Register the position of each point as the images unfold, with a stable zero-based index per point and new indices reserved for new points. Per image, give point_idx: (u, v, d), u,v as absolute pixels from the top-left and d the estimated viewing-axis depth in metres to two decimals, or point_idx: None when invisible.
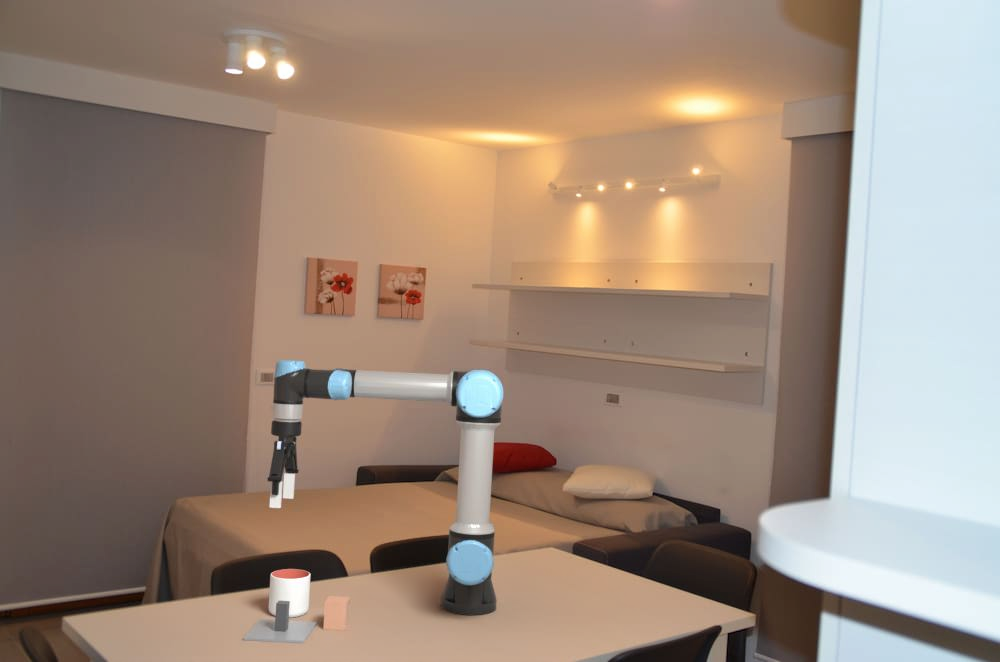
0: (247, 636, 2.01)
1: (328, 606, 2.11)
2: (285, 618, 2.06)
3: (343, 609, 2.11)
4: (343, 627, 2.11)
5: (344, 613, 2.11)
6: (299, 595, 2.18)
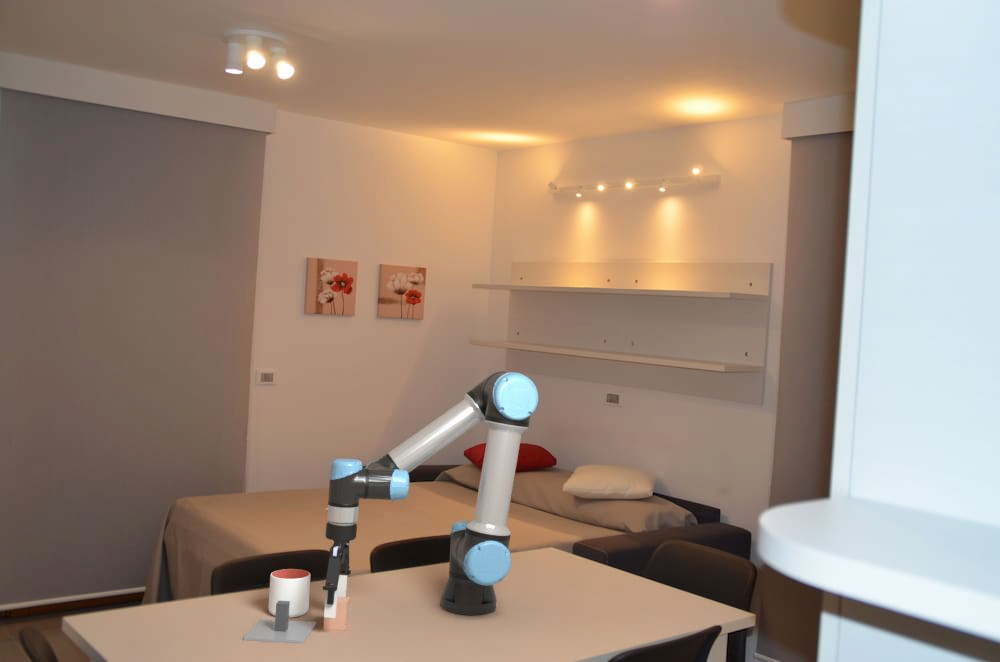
0: (247, 636, 2.01)
1: None
2: (285, 618, 2.06)
3: (343, 609, 2.11)
4: (343, 627, 2.11)
5: (344, 613, 2.11)
6: (298, 595, 2.18)
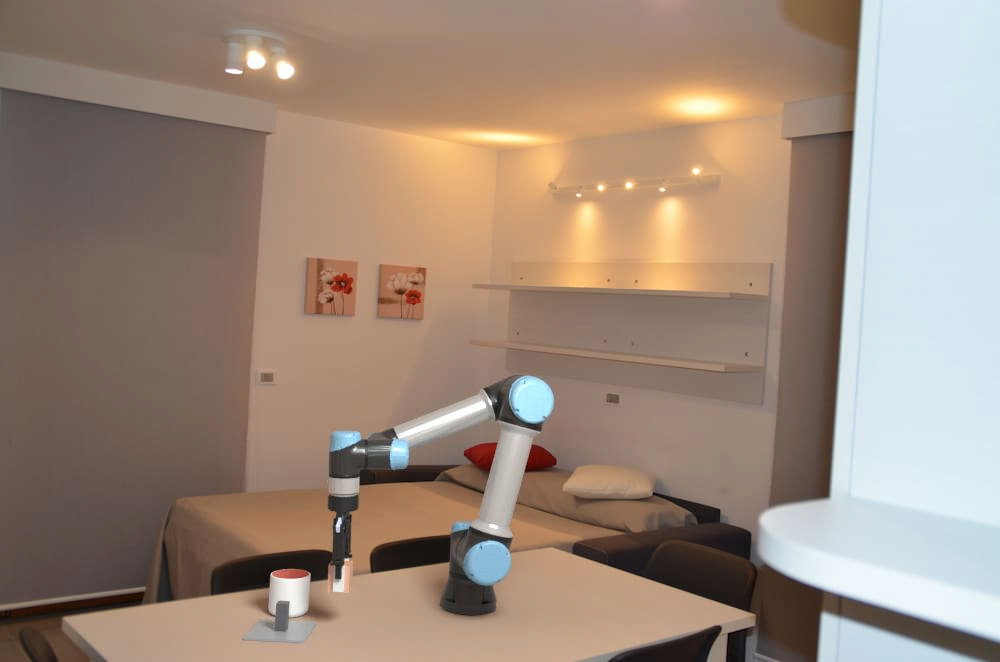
0: (247, 636, 2.01)
1: (332, 569, 2.11)
2: (285, 618, 2.06)
3: (347, 572, 2.11)
4: (347, 590, 2.11)
5: (348, 576, 2.11)
6: (298, 595, 2.18)
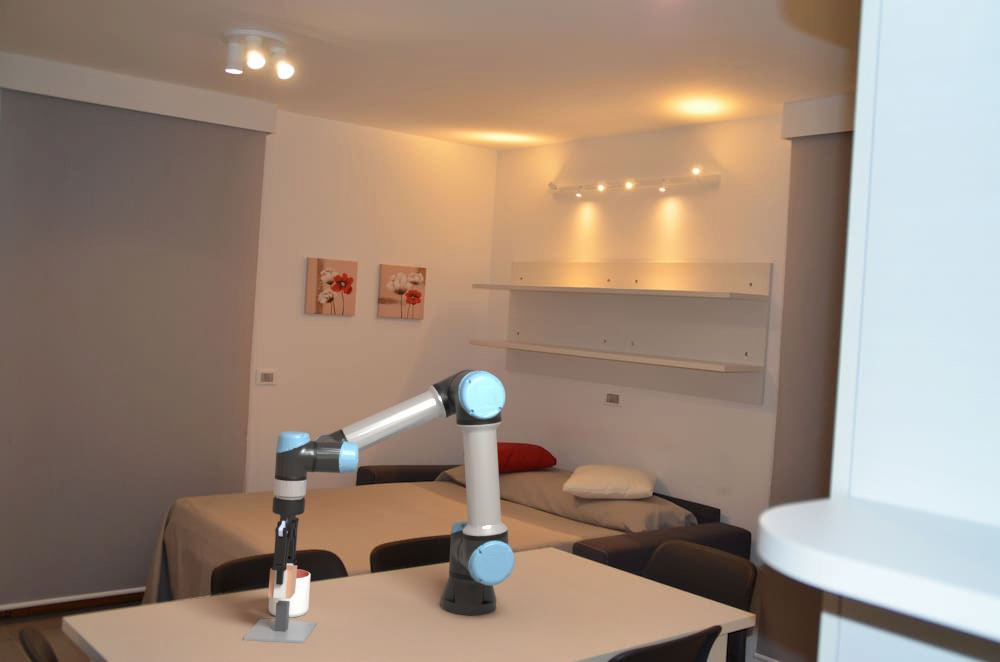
0: (247, 636, 2.01)
1: (273, 573, 2.05)
2: (285, 618, 2.06)
3: (289, 577, 2.05)
4: (288, 595, 2.05)
5: (290, 581, 2.05)
6: (298, 595, 2.18)
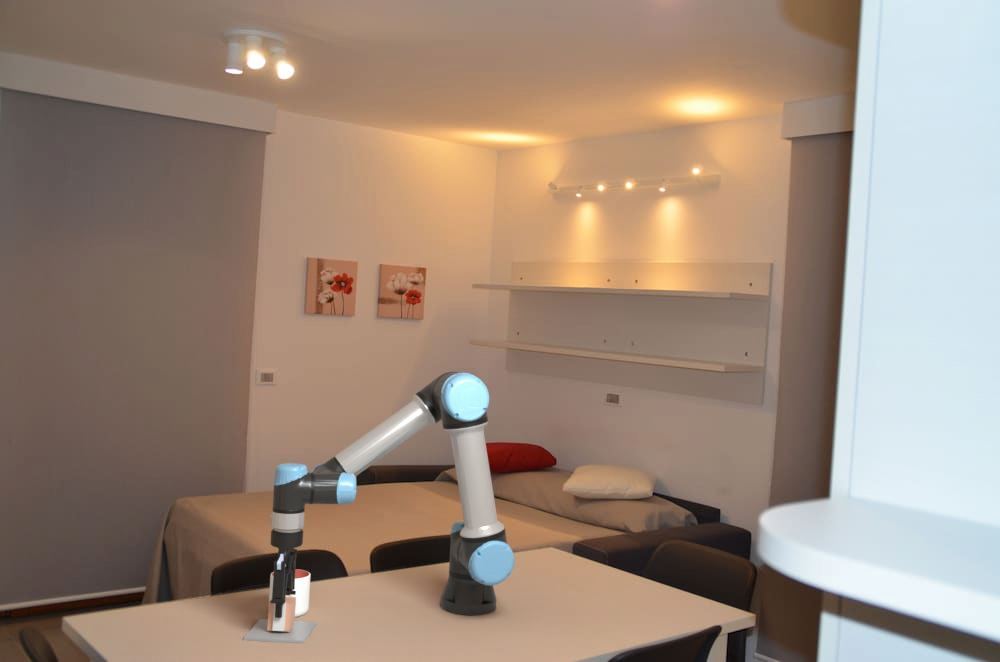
0: (247, 636, 2.01)
1: (272, 606, 2.05)
2: None
3: (288, 610, 2.05)
4: (287, 628, 2.05)
5: (289, 614, 2.05)
6: (299, 595, 2.18)
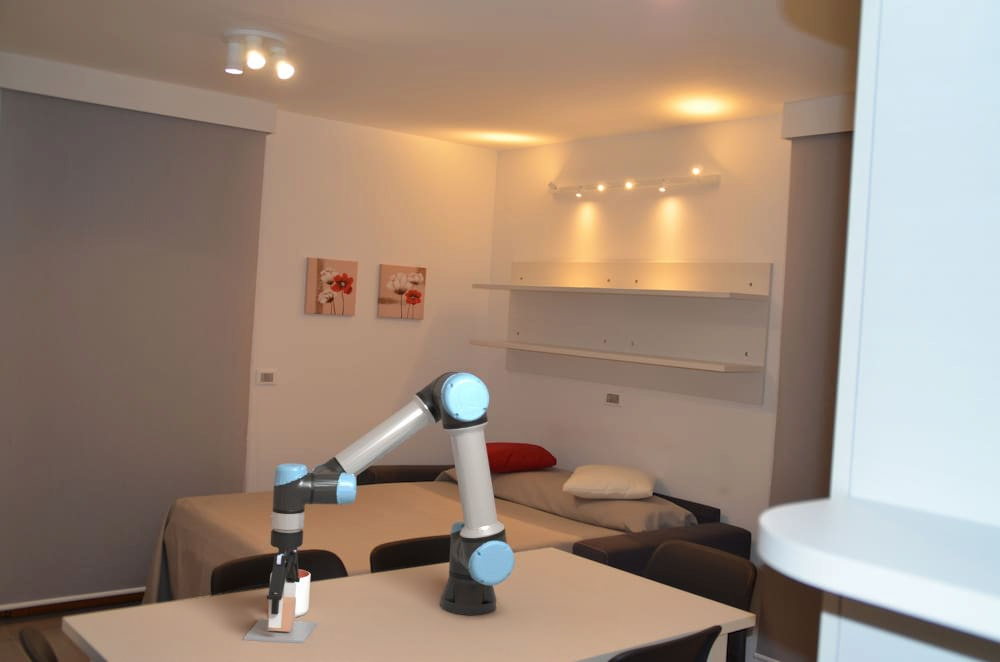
0: (247, 636, 2.01)
1: None
2: None
3: (288, 610, 2.05)
4: (288, 628, 2.05)
5: (289, 614, 2.05)
6: (299, 595, 2.18)
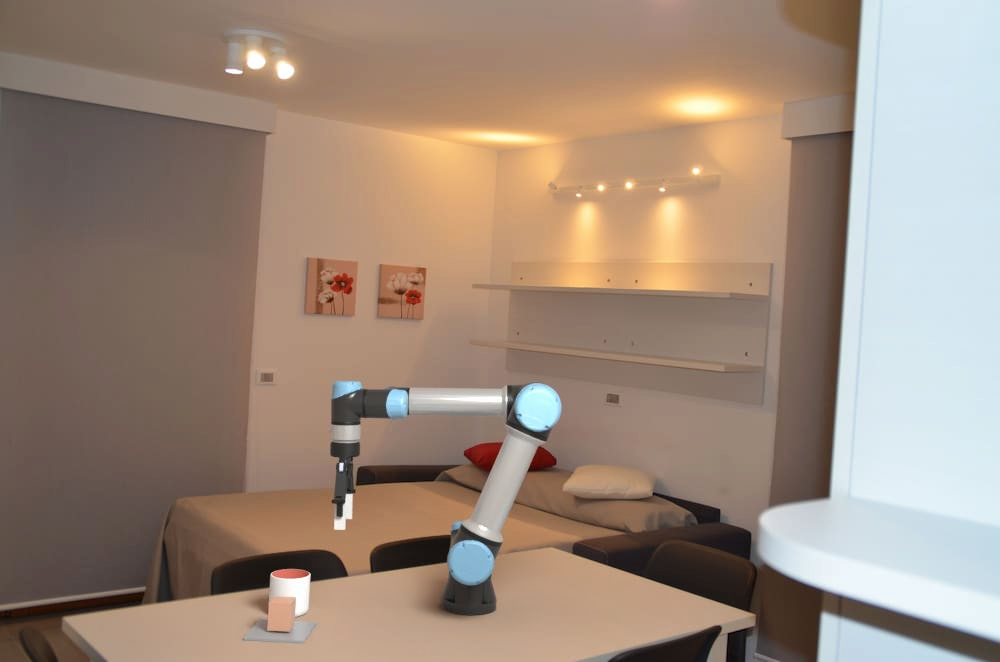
0: (247, 636, 2.01)
1: (272, 607, 2.05)
2: None
3: (288, 610, 2.05)
4: (288, 628, 2.05)
5: (289, 614, 2.05)
6: (299, 595, 2.18)
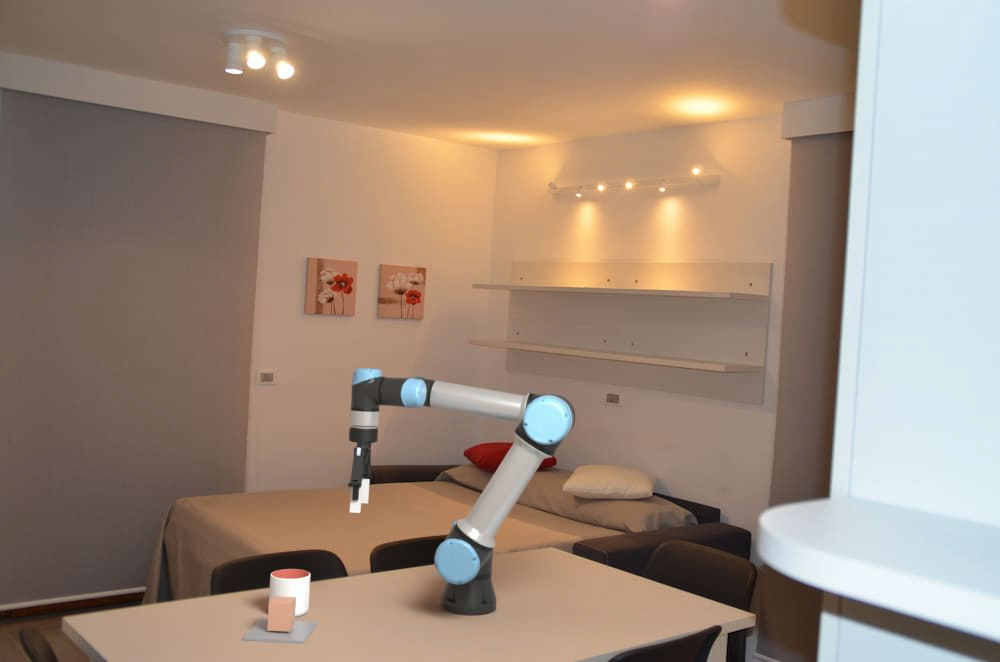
0: (247, 636, 2.01)
1: (272, 607, 2.05)
2: None
3: (288, 610, 2.05)
4: (288, 628, 2.05)
5: (289, 614, 2.05)
6: (299, 595, 2.18)
